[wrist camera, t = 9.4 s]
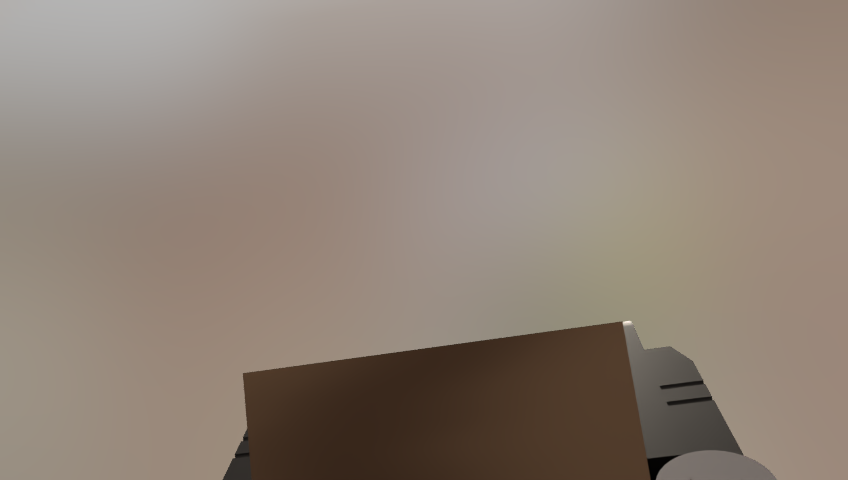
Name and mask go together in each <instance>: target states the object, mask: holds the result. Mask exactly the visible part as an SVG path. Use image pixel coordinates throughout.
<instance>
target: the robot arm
mask: <svg viewBox="0 0 848 480" xmlns="http://www.w3.org/2000/svg"><path fill="white" fill-rule="evenodd" d="M623 327H624V333H625V338H626V344H627V349H628V355H629V361H630V366H631V372H632V378H633V383H634V389H635V394H636V400H637V406H638V411H639V417H640V423H641V428H642V434H643V439H644V445H645V451H646V456H647V462H648V468H649V473H650V479H651V480H776V478H775V476H774V475H773V474H772V473H771V472H770V471H769V470H768V469H767V468H766V467H764V466H763V465H762V464H760V463H758V462H757V461H755V460H753V459H750V458H748V457H746V456H744V455H743V453H742V451H741V450H740V448H739V446H738V444H737V442H736V440H735V438H734V436H733V435H732V433H731V431H730V429H729V427H728V426H727V424H726V422H725V420H724V418H723V416H722V414H721V412H720V411H719V409H718V407H717V405H716V403H715V401H714V400H712V396H711V394H710V392H709V390H708V388H707V387H706V385H705V384H704V383H703V379H702V378H701V376H700V374H699V372H698V370H697V368H696V366H695V365H694V363H693V361H692V360H690V359H689V358H687V357H686V356H684V355H683V354H681V353H680V352H678V351H676V350H675V349H673V348H672V347H662V348H654V349H647V350H644V349H643V347H642V344H641V342H640V340H639V337H638V335H637V333H636V330H635V328H634V326H633V324H632V322H631V321H627V322H623ZM223 480H252V478H251V466H250V454H249V441H248V429H247V431H246V432H245V434H244V437H243V441H242V442H241V443H240V445H239V447H238V449H237V451H236V453H235V458H234V459H232V461H231V464H230V466H229V468H228V470H227V472H226V474H225V476H224V479H223Z"/></svg>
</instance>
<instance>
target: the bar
mask: <svg viewBox="0 0 848 480" xmlns="http://www.w3.org/2000/svg"><path fill="white" fill-rule="evenodd" d="M243 380H244V391H245V403H246V417H247V429H248V441H249V454H250V466H251V478H252V480H651V479H650V473H649V468H648V462H647V456H646V451H645V445H644V439H643V434H642V428H641V423H640V417H639V411H638V406H637V400H636V394H635V389H634V383H633V378H632V372H631V366H630V361H629V355H628V349H627V344H626V338H625V333H624V327H623V322H615V323H609V324H601V325H593V326H586V327H579V328H571V329H564V330H557V331H550V332H543V333H535V334H528V335H520V336H513V337H506V338H498V339H491V340H484V341H476V342H469V343H462V344H454V345H447V346H440V347H432V348H425V349H418V350H411V351H403V352H396V353H388V354H381V355H374V356H366V357H359V358H352V359H344V360H337V361H330V362H323V363H315V364H308V365H301V366H293V367H286V368H279V369H272V370H265V371H257V372H250V373H243Z"/></svg>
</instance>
